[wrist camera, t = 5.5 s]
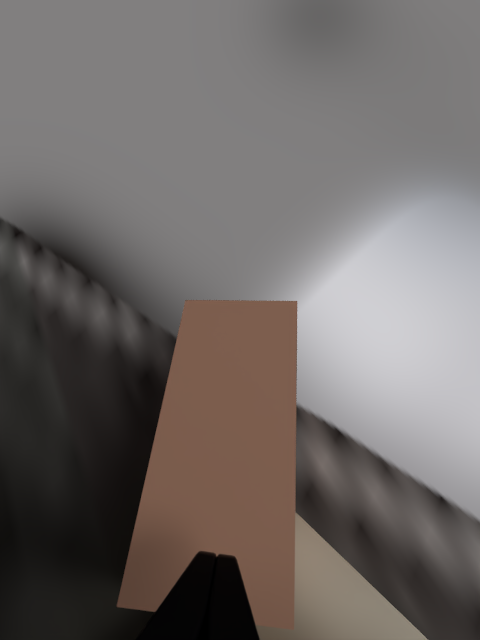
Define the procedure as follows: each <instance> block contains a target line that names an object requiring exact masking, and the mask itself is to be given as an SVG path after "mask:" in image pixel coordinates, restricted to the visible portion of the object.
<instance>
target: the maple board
mask: <svg viewBox="0 0 480 640" xmlns="http://www.w3.org/2000/svg"><path fill="white" fill-rule="evenodd" d="M256 628H257V631H258V635H259V638H260V640H428V639H427V638H426V637H425V636H424V635H423V634H422V633H420V632H419V631H418V630H417V629H416V628H415V627H414V626H413V625H412V624H411V623H410V622H409V621H408V620H407V619H406V618H405V617H404V616H403V615H402V614H401V613H400V612H399V611H398V610H397V609H396V608H395V607H393V606H392V605H391V604H390V603H389V602H388V601H387V600H386V599H385V598H384V597H383V596H382V595H381V594H380V593H379V592H378V591H377V590H376V589H375V588H374V587H373V586H372V585H371V584H370V583H369V582H368V581H366V580H365V579H364V578H363V577H362V576H361V575H360V574H359V573H358V572H357V571H356V570H355V569H354V568H353V567H352V566H351V565H350V564H349V563H348V562H347V561H346V560H345V559H344V558H343V557H342V556H341V555H339V554H338V553H337V552H336V551H335V550H334V549H333V548H332V547H331V546H330V545H329V544H328V543H327V542H326V541H325V540H324V539H323V538H322V537H321V536H320V535H319V534H318V533H317V532H316V531H315V530H313V529H312V528H311V527H310V526H309V525H308V524H307V523H306V522H305V521H304V520H303V519H302V518H301V517H300V516H299V515H298V514H297V513H296V512H295V592H294V630H290V629H282V628H275V627H267V626H259V625H256Z"/></svg>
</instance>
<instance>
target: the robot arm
mask: <svg viewBox="0 0 480 640" xmlns="http://www.w3.org/2000/svg"><path fill="white" fill-rule="evenodd" d="M136 640H260V638H259V635H258V631H257V628H256V624H255V621H254V617H253V614H252V610H251V607H250V603H249V600H248V596H247V593H246V589H245V586H244V582H243V579H242V575H241V572H240V569H239V565H238V562H237V559H236V557H235V556H233V555H226V554H218V556H216V554H215V553H213V552H207V551H199V552H198V553H197V554H196V555H195V556H194V558H193V559H192V561H191V562H190V563H189V565H188V566H187V568H186V569H185V571H184V572H183V573H182V575H181V576H180V578H179V579H178V580H177V582H176V583H175V585H174V586H173V588H172V589H171V590H170V592H169V593H168V595H167V596H166V597H165V599H164V600H163V602H162V603H161V605H160V606H159V607H158V609H157V610H156V612H155V613H154V614H153V616H152V617H151V619H150V620H149V622H148V623H147V624H146V626H145V627H144V629H143V630H142V631H141V633H140V634H139V636H138V637H137V639H136Z"/></svg>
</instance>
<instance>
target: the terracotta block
mask: <svg viewBox="0 0 480 640" xmlns="http://www.w3.org/2000/svg"><path fill="white" fill-rule="evenodd" d="M296 366H297V301H229V300H223V301H222V300H186V301H185V305H184V309H183V314H182V319H181V323H180V327H179V332H178V336H177V340H176V345H175V349H174V354H173V358H172V363H171V367H170V372H169V376H168V380H167V385H166V389H165V394H164V398H163V403H162V407H161V412H160V416H159V420H158V425H157V429H156V434H155V438H154V443H153V447H152V452H151V456H150V460H149V465H148V469H147V474H146V478H145V483H144V487H143V492H142V496H141V501H140V505H139V509H138V514H137V518H136V523H135V527H134V532H133V536H132V541H131V545H130V549H129V554H128V558H127V563H126V567H125V572H124V576H123V581H122V585H121V589H120V594H119V598H118V603H117V607H121V608H129V609H136V610H144V611H152V612H156V610H157V609H158V607H159V606H160V605H161V603H162V602H163V600H164V599H165V597H166V596H167V595H168V593H169V592H170V590H171V589H172V588H173V586H174V585H175V583H176V582H177V580H178V579H179V578H180V576H181V575H182V573H183V572H184V571H185V569H186V568H187V566H188V565H189V563H190V562H191V561H192V559H193V558H194V556H195V555H196V554H197V553H198V552H199V551H207V552H213V553H215V554H216V556H218V554H226V555H233V556H235V557H236V559H237V562H238V565H239V569H240V572H241V575H242V579H243V582H244V586H245V589H246V593H247V596H248V600H249V603H250V607H251V610H252V614H253V617H254V621H255V624H256V625H259V626H267V627H275V628H282V629H290V630H294V592H295V485H296V373H297V367H296Z"/></svg>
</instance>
